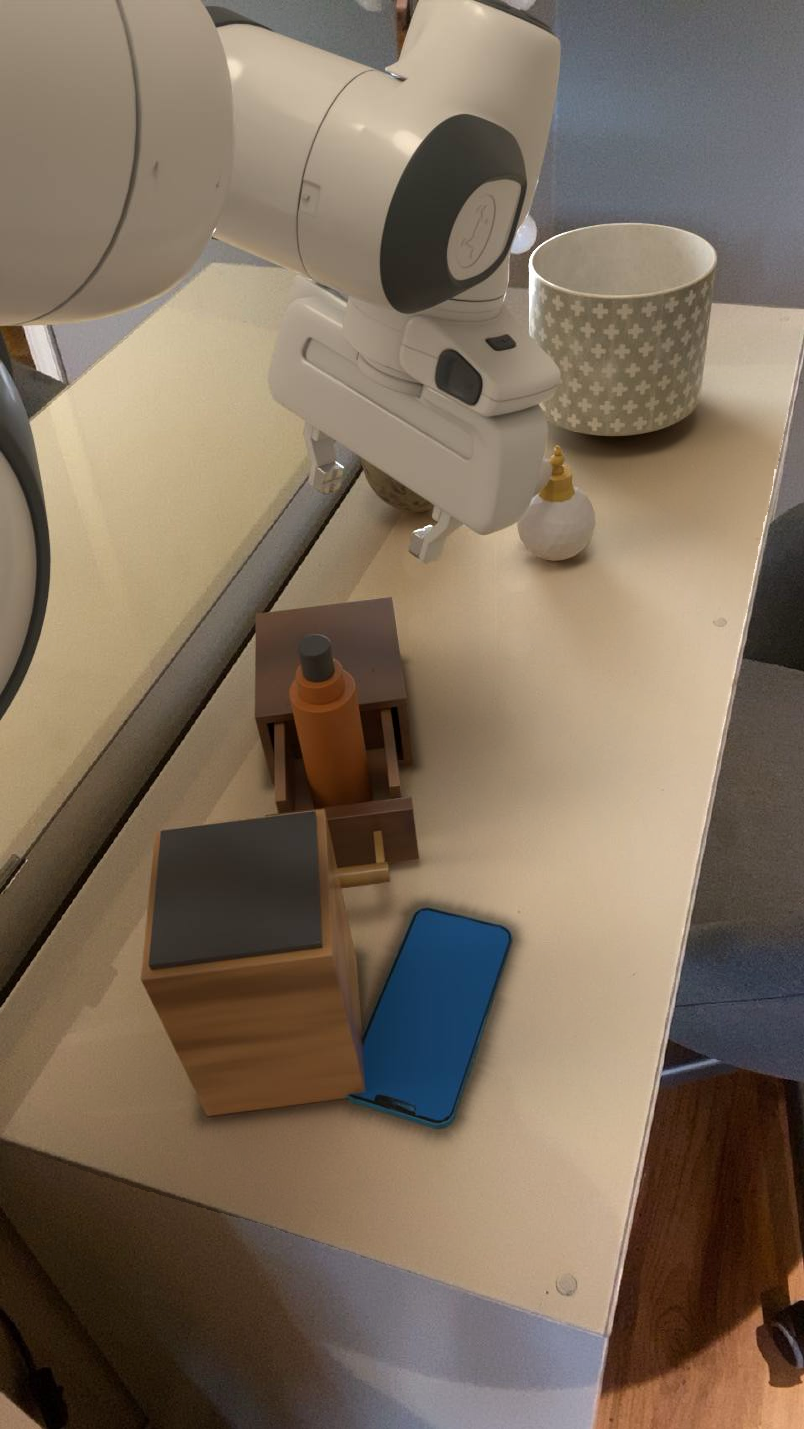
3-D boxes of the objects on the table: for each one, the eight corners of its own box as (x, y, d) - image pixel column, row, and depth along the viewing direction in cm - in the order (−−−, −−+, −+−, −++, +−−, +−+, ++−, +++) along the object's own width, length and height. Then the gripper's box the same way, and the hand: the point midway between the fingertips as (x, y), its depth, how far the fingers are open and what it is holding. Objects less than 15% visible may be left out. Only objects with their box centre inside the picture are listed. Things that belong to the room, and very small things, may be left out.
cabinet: (414, 765, 85) (406, 698, 79) (271, 784, 85) (254, 717, 79) (399, 663, 94) (392, 596, 88) (271, 679, 94) (255, 613, 88)
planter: (644, 478, 111) (659, 311, 99) (497, 432, 121) (493, 274, 108) (727, 401, 121) (750, 240, 108) (584, 364, 130) (590, 212, 118)
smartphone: (516, 928, 73) (450, 1129, 63) (516, 936, 73) (450, 1136, 63) (416, 903, 75) (336, 1093, 65) (417, 911, 76) (338, 1101, 66)
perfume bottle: (603, 536, 105) (609, 428, 96) (572, 594, 99) (576, 484, 90) (532, 523, 107) (532, 416, 99) (498, 578, 101) (495, 470, 93)
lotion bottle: (374, 816, 79) (350, 663, 68) (314, 824, 79) (279, 672, 68) (370, 772, 82) (346, 618, 71) (312, 779, 82) (278, 627, 71)
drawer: (425, 907, 74) (419, 856, 70) (279, 926, 74) (264, 876, 70) (404, 747, 85) (398, 696, 81) (277, 763, 85) (264, 713, 81)
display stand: (366, 1095, 65) (331, 949, 54) (206, 1116, 65) (137, 974, 54) (356, 957, 72) (323, 802, 61) (212, 976, 72) (152, 824, 61)
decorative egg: (351, 527, 110) (332, 394, 99) (388, 472, 116) (374, 343, 106) (449, 541, 106) (440, 405, 96) (481, 484, 113) (476, 351, 103)
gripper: (262, 256, 64) (234, 459, 73) (520, 404, 56) (454, 614, 64) (334, 248, 68) (300, 442, 77) (584, 385, 60) (514, 584, 68)
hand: (372, 521), depth 70 cm, fingers open, 8 cm apart
